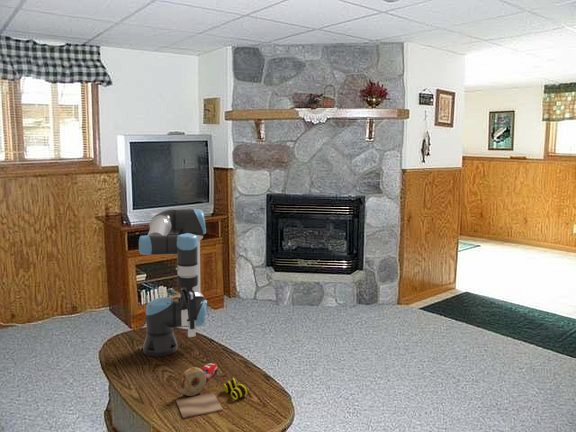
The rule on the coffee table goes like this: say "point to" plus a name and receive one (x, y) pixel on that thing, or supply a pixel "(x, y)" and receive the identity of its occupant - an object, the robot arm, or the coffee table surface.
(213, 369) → the race car
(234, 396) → the opera glasses
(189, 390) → the stone disc
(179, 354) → the coffee table surface
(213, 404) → the walnut board
